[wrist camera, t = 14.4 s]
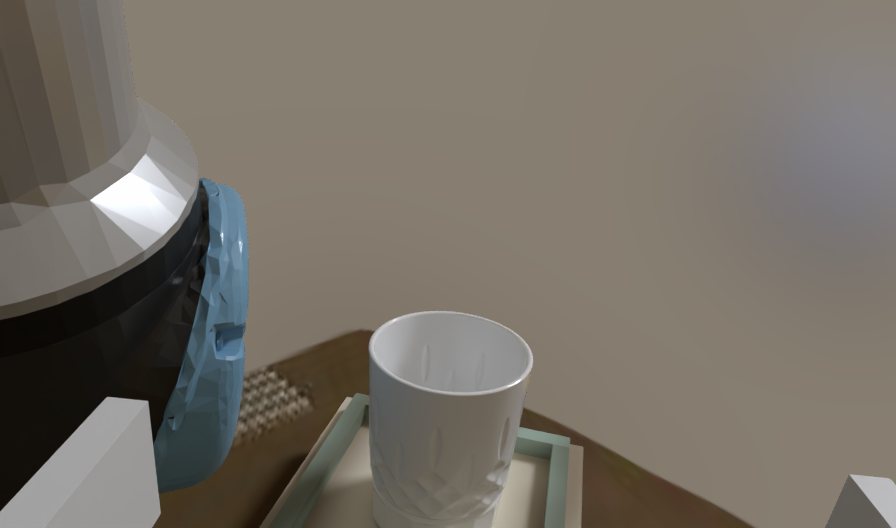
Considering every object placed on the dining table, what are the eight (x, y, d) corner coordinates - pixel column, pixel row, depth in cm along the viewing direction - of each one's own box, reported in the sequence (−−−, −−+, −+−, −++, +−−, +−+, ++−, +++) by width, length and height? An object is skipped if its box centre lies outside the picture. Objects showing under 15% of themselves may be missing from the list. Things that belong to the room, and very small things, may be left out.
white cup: (431, 598, 28) (451, 417, 25) (331, 501, 33) (335, 337, 30) (536, 516, 34) (566, 356, 30) (436, 442, 39) (451, 298, 35)
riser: (220, 653, 29) (215, 572, 27) (345, 444, 44) (347, 382, 42) (560, 753, 27) (581, 671, 25) (572, 495, 41) (586, 431, 39)
